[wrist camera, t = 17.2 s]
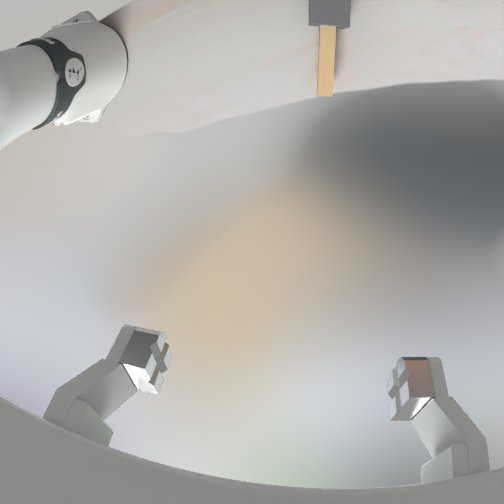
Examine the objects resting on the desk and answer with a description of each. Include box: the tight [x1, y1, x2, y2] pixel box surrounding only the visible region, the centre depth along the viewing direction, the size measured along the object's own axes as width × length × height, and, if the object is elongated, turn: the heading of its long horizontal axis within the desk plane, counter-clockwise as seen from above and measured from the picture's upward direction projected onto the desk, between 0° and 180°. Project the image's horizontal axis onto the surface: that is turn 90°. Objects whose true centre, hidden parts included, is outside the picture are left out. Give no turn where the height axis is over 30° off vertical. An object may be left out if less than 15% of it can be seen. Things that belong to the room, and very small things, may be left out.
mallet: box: [309, 0, 350, 97], centre depth 31 cm, size 4×13×6 cm, turn 0°
